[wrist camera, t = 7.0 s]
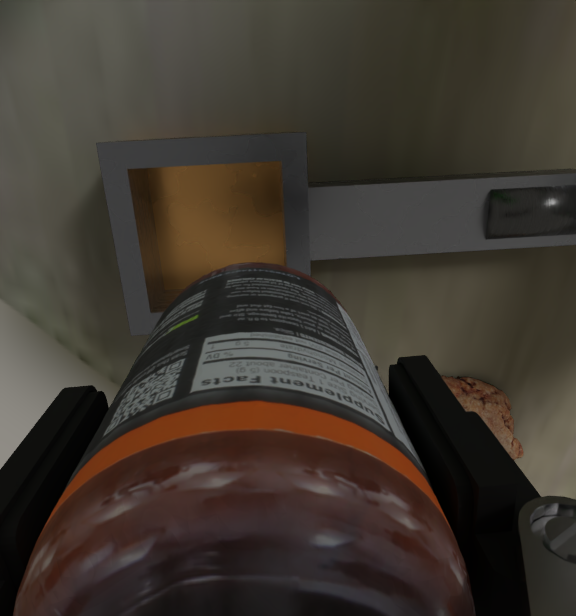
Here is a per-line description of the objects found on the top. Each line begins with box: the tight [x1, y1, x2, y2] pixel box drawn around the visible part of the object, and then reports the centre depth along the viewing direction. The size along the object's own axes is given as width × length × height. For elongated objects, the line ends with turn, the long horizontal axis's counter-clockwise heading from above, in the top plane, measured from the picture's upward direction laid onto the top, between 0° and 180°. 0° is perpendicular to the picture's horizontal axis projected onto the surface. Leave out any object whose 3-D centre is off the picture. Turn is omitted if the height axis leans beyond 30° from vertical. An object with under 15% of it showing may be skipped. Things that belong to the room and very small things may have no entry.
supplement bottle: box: [13, 262, 476, 616], centre depth 9 cm, size 6×6×11 cm
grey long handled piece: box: [96, 132, 576, 336], centre depth 26 cm, size 26×10×5 cm, turn 93°
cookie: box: [441, 376, 523, 460], centre depth 33 cm, size 10×11×3 cm
